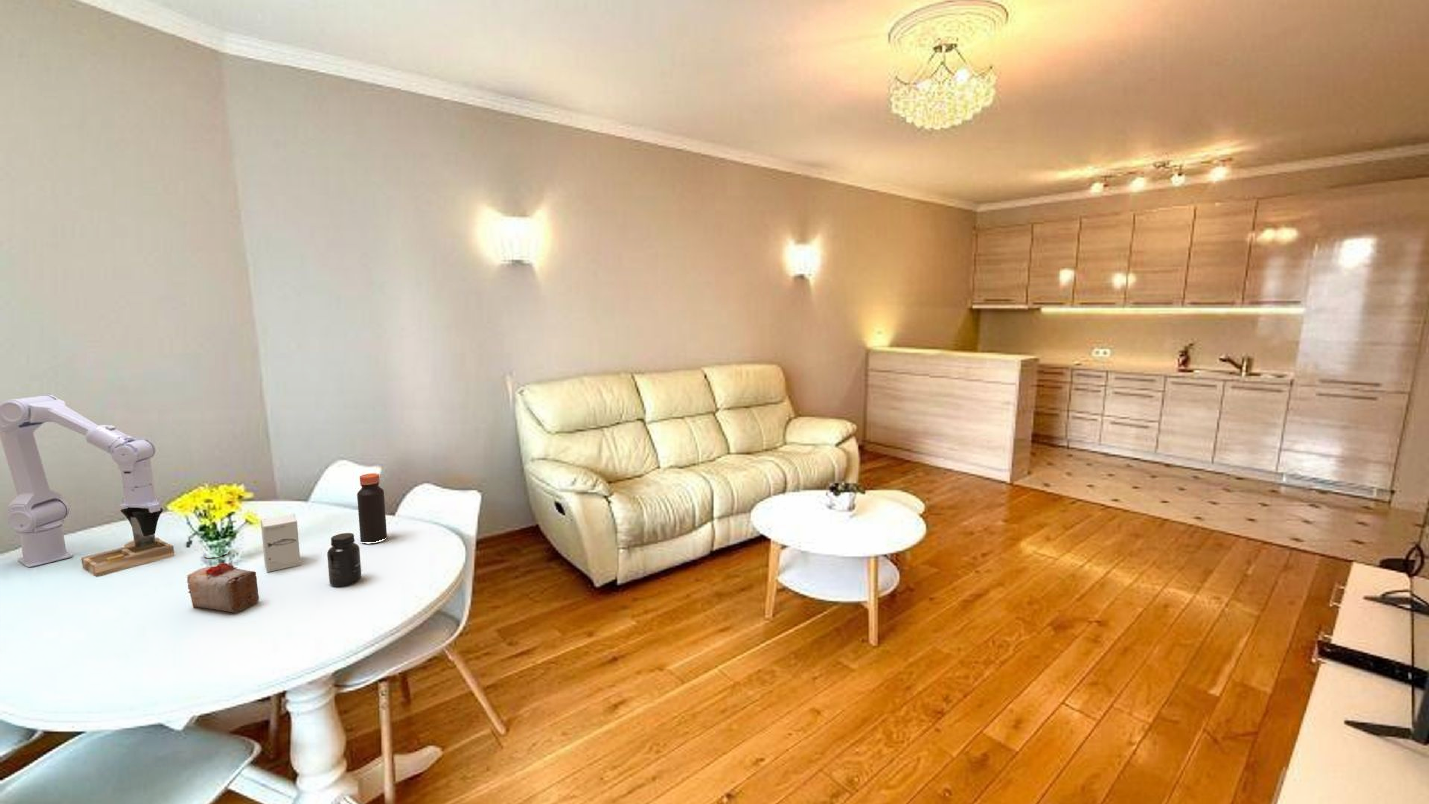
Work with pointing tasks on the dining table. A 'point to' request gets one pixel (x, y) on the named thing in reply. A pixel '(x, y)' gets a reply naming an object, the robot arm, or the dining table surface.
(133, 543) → the dish
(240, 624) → the dining table surface
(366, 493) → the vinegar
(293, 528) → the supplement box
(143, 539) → the cell
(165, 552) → the board
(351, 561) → the supplement bottle
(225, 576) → the food item
